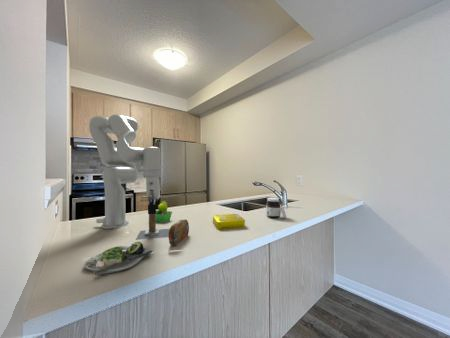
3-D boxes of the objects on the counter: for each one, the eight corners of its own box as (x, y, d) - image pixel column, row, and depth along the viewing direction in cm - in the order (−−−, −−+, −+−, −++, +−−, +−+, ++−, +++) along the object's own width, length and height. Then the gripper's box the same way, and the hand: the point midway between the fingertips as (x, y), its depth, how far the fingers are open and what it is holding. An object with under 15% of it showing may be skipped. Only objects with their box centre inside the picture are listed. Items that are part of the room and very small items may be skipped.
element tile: (246, 228, 102) (246, 219, 102) (217, 230, 98) (217, 221, 98) (237, 220, 116) (237, 212, 116) (212, 222, 113) (212, 214, 113)
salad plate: (121, 283, 54) (121, 266, 54) (65, 277, 57) (65, 261, 57) (157, 252, 73) (157, 240, 73) (114, 249, 76) (114, 237, 76)
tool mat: (135, 241, 83) (135, 239, 83) (140, 231, 95) (140, 230, 95) (174, 237, 87) (174, 236, 87) (175, 229, 99) (175, 228, 99)
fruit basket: (147, 222, 112) (147, 202, 112) (157, 218, 120) (157, 199, 120) (165, 224, 109) (165, 203, 108) (174, 219, 117) (174, 200, 117)
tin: (174, 249, 75) (174, 227, 75) (167, 248, 76) (167, 227, 76) (189, 236, 90) (189, 217, 90) (183, 235, 90) (183, 217, 90)
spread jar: (264, 215, 128) (264, 197, 128) (281, 214, 129) (281, 197, 129) (271, 220, 116) (271, 200, 116) (289, 219, 117) (289, 200, 117)
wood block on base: (144, 236, 88) (144, 215, 87) (146, 232, 92) (146, 212, 92) (158, 235, 89) (158, 214, 89) (159, 231, 94) (159, 212, 94)
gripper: (159, 174, 83) (160, 215, 83) (162, 173, 100) (163, 207, 99) (140, 174, 81) (141, 216, 81) (146, 174, 98) (147, 208, 98)
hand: (153, 211), depth 90 cm, fingers open, 9 cm apart
